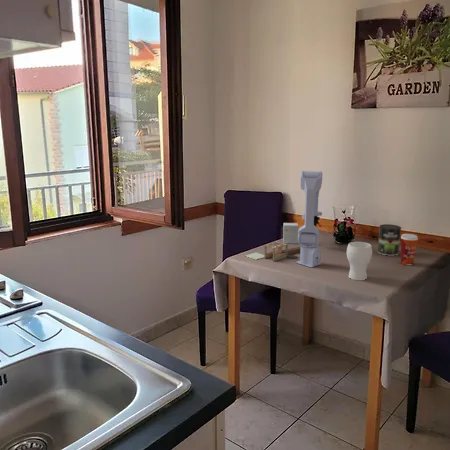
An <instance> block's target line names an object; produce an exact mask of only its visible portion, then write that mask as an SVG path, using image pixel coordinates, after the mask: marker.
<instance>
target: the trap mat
mask: <svg viewBox="0 0 450 450" xmlns="http://www.w3.org/2000/svg"><path fill="white" fill-rule="evenodd" d="M286 258H289V259H292V260H294V259H298V258H299V256H298V255H293V254H290V255H287V257H286Z"/></svg>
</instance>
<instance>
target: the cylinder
mask: <svg viewBox="0 0 450 450" xmlns="http://www.w3.org/2000/svg"><path fill="white" fill-rule="evenodd" d="M279 245H280V246H281V245H282V244H279ZM273 247H277V246H274V245H273ZM282 250H283V247H279V248H276V249H275V255H278V254H282Z"/></svg>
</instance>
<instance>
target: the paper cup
mask: <svg viewBox="0 0 450 450" xmlns="http://www.w3.org/2000/svg"><path fill="white" fill-rule="evenodd" d="M400 240H401V241H400V264H401V263H402V264H413V265H414V263H415V262H414V261H415V257H416V250H417V244H418V240H419V238H418V236H417V234H413V233H403V234H401V235H400ZM402 264H401V265H402Z"/></svg>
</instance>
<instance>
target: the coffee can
mask: <svg viewBox="0 0 450 450" xmlns="http://www.w3.org/2000/svg"><path fill="white" fill-rule="evenodd" d="M401 229H402V227H401V226H400V225H396V224H388V223H387V224H380V225H379V232H378V234H379V235H378V246H377V253H378V255H381V254H382V256H385V255H388V256H387V257H395V256H394V255H396V256H398V255H399V253H400V252H399V251H400V243H401V241H400V240H401V231H402V230H401Z"/></svg>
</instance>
